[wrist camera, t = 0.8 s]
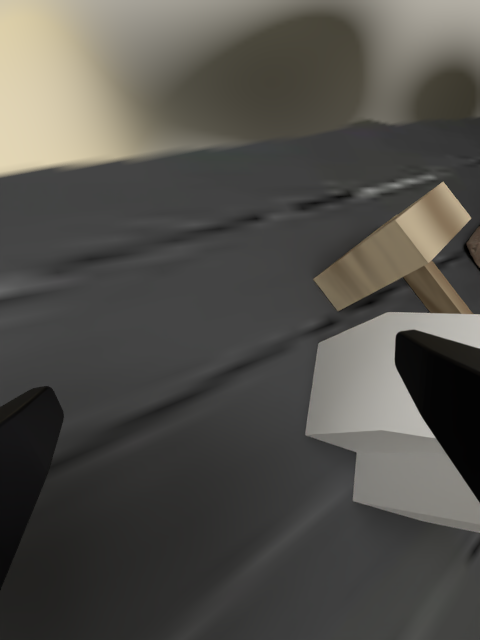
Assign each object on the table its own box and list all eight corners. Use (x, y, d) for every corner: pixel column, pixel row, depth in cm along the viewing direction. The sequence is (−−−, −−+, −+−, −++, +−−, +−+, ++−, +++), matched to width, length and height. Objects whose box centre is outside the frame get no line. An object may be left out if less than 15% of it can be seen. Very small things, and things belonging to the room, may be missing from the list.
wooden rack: (484, 502, 30) (627, 520, 22) (313, 279, 30) (395, 219, 22) (520, 414, 36) (643, 404, 28) (377, 228, 36) (459, 168, 28)
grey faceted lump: (421, 520, 27) (640, 565, 16) (297, 485, 23) (470, 513, 13) (422, 387, 31) (592, 357, 21) (318, 343, 28) (458, 281, 18)
